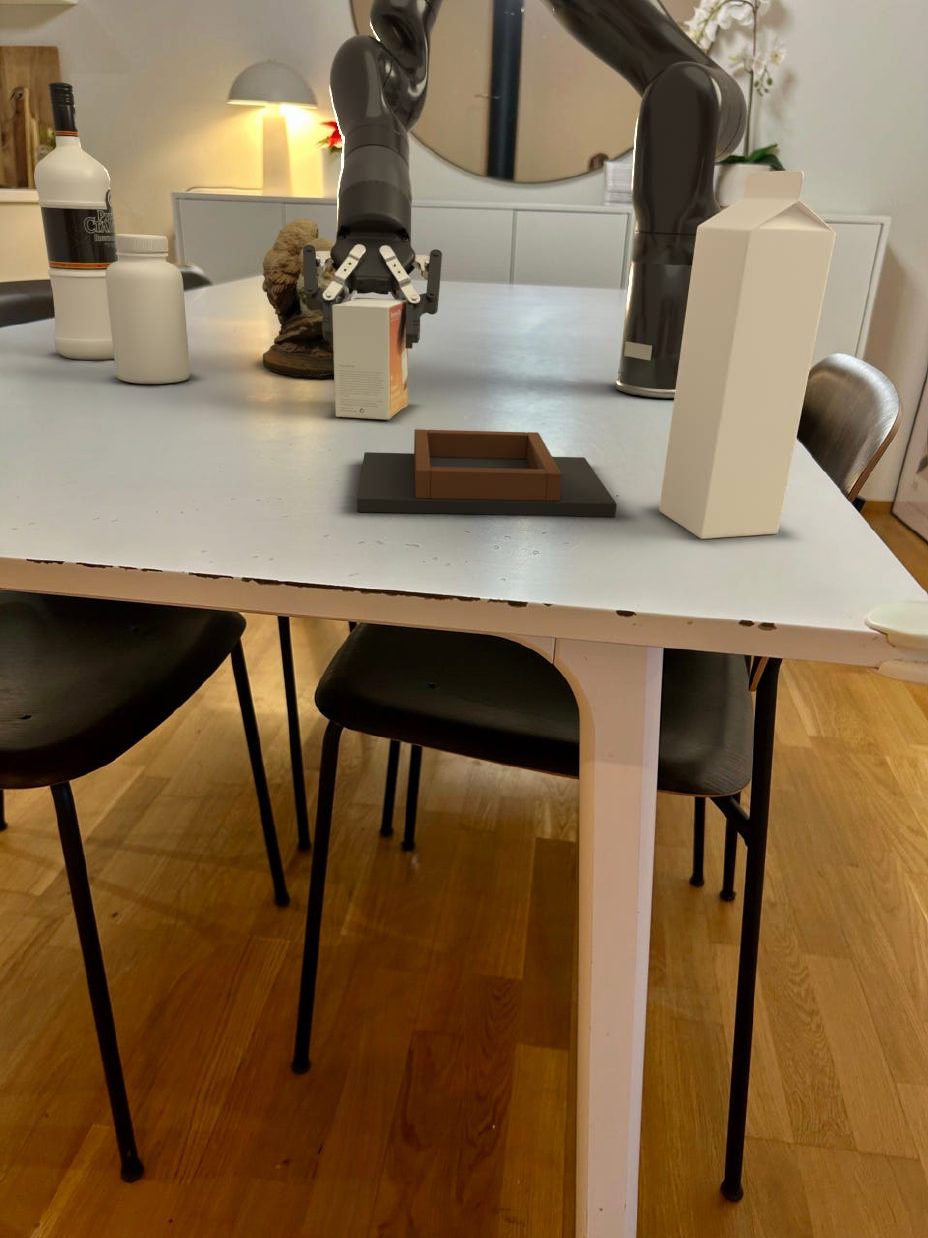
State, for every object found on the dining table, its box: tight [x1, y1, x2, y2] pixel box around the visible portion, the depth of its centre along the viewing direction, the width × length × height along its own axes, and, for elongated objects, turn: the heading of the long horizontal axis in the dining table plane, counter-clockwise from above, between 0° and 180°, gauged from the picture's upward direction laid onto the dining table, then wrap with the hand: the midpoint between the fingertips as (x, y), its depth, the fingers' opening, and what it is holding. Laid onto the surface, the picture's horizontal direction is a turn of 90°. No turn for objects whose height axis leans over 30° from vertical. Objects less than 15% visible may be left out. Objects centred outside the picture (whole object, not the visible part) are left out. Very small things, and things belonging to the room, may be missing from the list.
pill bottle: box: [105, 233, 191, 385], centre depth 99 cm, size 8×8×15 cm
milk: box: [658, 170, 837, 540], centre depth 58 cm, size 6×6×22 cm
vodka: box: [33, 81, 119, 361], centre depth 108 cm, size 9×9×30 cm
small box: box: [332, 297, 409, 421], centre depth 89 cm, size 8×6×10 cm
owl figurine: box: [261, 218, 352, 378], centre depth 109 cm, size 18×12×17 cm, turn 28°
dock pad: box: [356, 428, 617, 518], centre depth 68 cm, size 18×12×3 cm
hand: (370, 341), depth 87 cm, fingers closed on small box, 6 cm apart
